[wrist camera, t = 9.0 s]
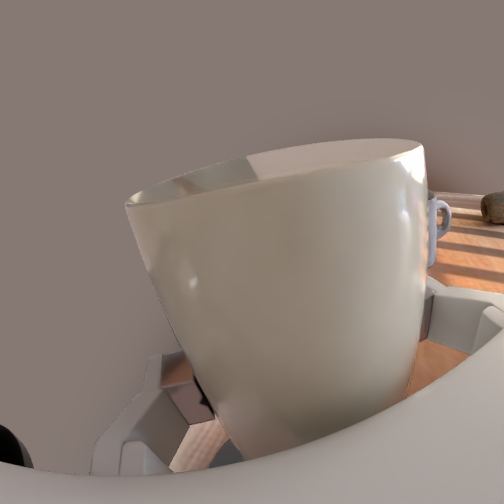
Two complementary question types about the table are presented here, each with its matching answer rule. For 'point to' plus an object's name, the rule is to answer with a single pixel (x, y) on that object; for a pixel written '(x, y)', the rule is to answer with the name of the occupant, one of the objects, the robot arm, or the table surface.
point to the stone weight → (493, 207)
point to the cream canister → (293, 283)
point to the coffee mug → (433, 230)
